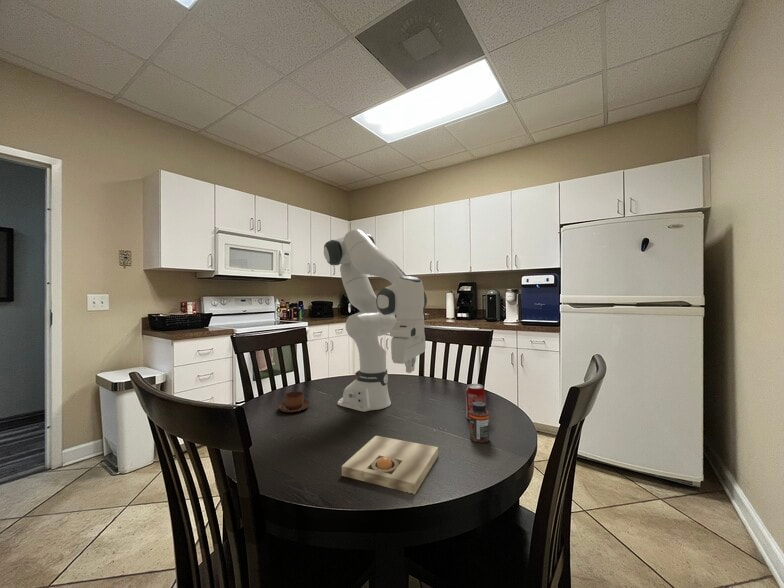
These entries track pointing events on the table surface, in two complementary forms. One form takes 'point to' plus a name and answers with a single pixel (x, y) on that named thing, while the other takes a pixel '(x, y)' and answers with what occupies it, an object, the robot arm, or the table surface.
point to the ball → (384, 463)
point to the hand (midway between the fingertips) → (410, 371)
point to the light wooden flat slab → (406, 463)
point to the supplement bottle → (479, 422)
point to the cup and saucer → (294, 402)
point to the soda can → (474, 396)
